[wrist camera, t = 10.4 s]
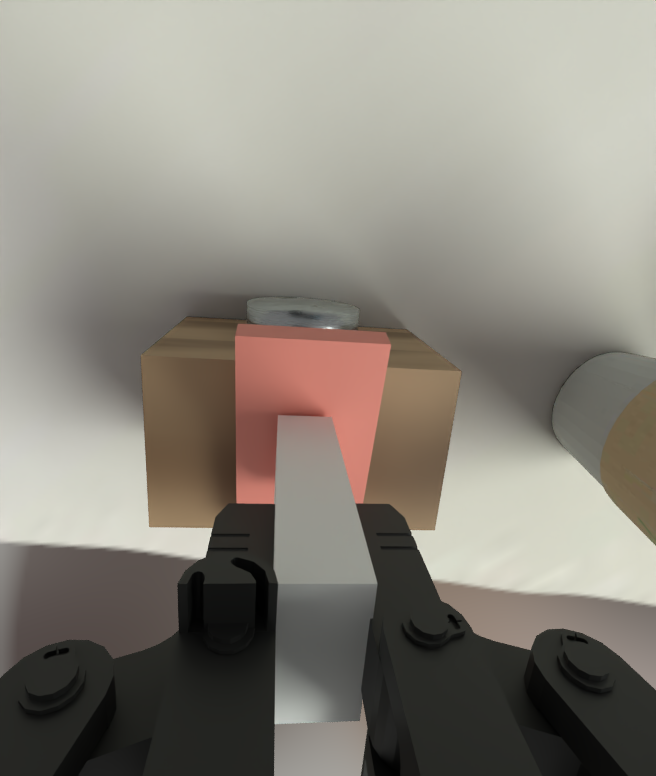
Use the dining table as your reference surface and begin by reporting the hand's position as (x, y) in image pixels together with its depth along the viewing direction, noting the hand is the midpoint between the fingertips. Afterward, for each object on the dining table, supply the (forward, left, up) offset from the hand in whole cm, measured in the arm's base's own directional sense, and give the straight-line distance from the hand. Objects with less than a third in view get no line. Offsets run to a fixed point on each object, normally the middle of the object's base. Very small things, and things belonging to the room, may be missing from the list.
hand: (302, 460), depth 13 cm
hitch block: (+1, 0, -9) cm, 9 cm away
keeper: (0, 0, -1) cm, 1 cm away
